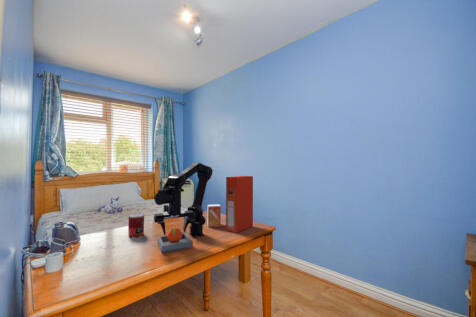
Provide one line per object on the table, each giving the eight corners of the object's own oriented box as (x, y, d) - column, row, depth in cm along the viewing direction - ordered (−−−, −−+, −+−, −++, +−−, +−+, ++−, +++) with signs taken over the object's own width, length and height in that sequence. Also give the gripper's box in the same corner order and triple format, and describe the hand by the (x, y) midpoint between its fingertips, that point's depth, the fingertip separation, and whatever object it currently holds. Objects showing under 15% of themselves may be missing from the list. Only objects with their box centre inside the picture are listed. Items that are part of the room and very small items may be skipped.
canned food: (137, 237, 113) (138, 217, 113) (124, 236, 114) (125, 216, 115) (146, 233, 120) (147, 213, 121) (134, 232, 122) (134, 213, 122)
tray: (185, 238, 113) (185, 232, 113) (192, 247, 101) (192, 241, 101) (157, 242, 107) (157, 236, 107) (161, 253, 94) (161, 246, 94)
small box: (207, 227, 133) (208, 206, 133) (207, 224, 139) (207, 204, 139) (220, 226, 134) (221, 205, 135) (219, 223, 141) (219, 204, 141)
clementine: (181, 245, 100) (181, 230, 101) (166, 246, 99) (166, 231, 99) (182, 240, 108) (182, 225, 109) (167, 241, 107) (168, 226, 107)
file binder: (225, 230, 126) (226, 176, 127) (242, 224, 140) (243, 175, 141) (236, 233, 121) (236, 177, 122) (252, 226, 135) (253, 176, 136)
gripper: (189, 197, 115) (189, 226, 115) (152, 200, 107) (152, 231, 106) (195, 201, 106) (195, 232, 105) (155, 204, 97) (154, 238, 97)
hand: (174, 233), depth 104 cm, fingers open, 9 cm apart
